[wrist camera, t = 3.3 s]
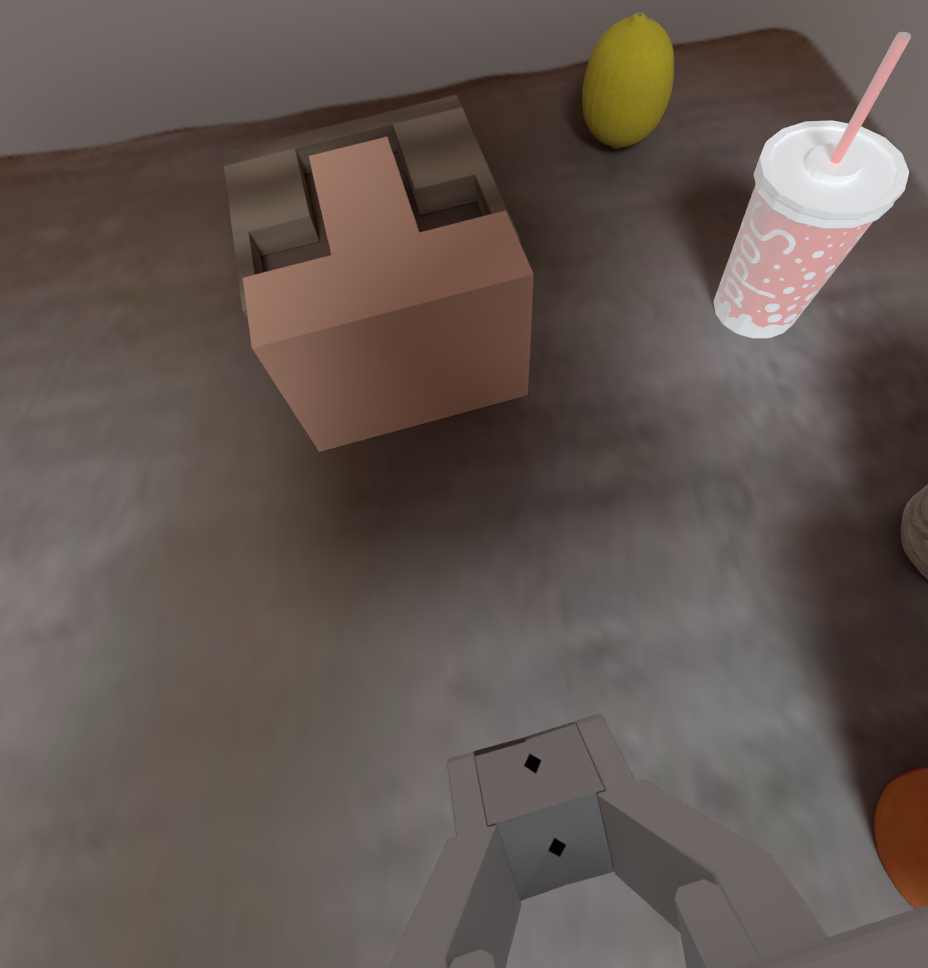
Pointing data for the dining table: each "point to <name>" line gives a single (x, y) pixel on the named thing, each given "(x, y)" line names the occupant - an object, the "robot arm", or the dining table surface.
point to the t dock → (284, 162)
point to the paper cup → (905, 834)
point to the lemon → (628, 81)
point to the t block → (392, 310)
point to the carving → (916, 530)
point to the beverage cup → (808, 213)
